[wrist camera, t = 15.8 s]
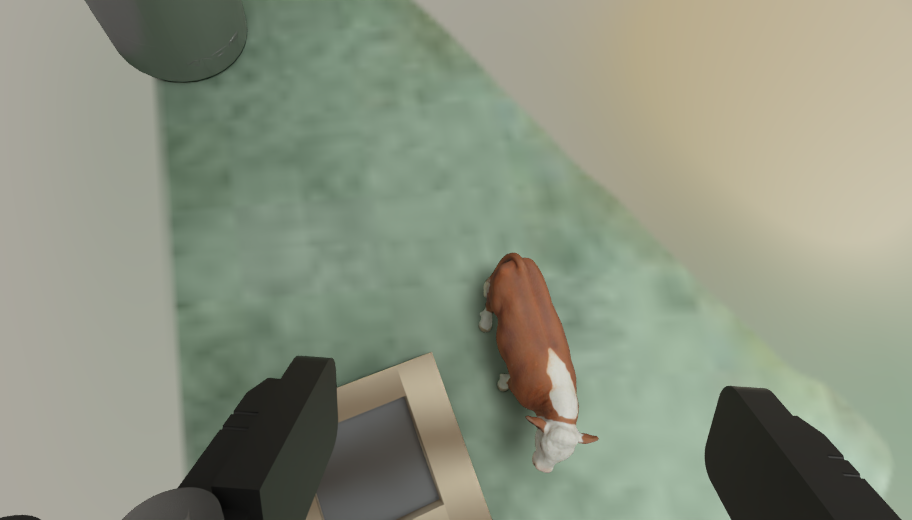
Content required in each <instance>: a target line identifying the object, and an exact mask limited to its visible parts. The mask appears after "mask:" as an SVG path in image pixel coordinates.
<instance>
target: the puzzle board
mask: <svg viewBox="0 0 912 520" xmlns="http://www.w3.org/2000/svg"><path fill="white" fill-rule="evenodd" d="M337 405H338V430H337V437H336V442H335V446H334V449H333V452H332V454H331V457H330V459H329V462H328V464H327V467H326V469H325V472H324V474H323V477H322V479H321V482H320V484H319V487H318V489H317V492H316V494H315V497H314V500H313V502H312V505H311V507H310V510H309V512H308V515H307V517H306V520H492V518H491V515H490V513H489V510H488V507H487V504H486V501H485V499H484V496H483V493H482V490H481V488H480V485H479V482H478V479H477V476H476V474H475V471H474V468H473V465H472V462H471V460H470V457H469V454H468V451H467V449H466V446H465V443H464V440H463V437H462V435H461V432H460V429H459V426H458V423H457V421H456V418H455V415H454V412H453V410H452V407H451V404H450V401H449V398H448V396H447V393H446V390H445V387H444V384H443V382H442V379H441V376H440V373H439V371H438V368H437V365H436V362H435V359H434V357H433V354H432V352H430V353H427V354H425V355H422V356H419V357H417V358H414V359H411V360H409V361H406V362H403V363H401V364H398V365H395V366H393V367H390V368H388V369H385V370H382V371H380V372H377V373H374V374H372V375H369V376H366V377H364V378H361V379H358V380H356V381H353V382H351V383H348V384H345V385H343V386H340V387H337Z"/></svg>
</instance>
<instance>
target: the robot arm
mask: <svg viewBox="0 0 912 520" xmlns="http://www.w3.org/2000/svg"><path fill="white" fill-rule="evenodd" d="M85 1H86V3H87V4H88V6H89V8H90V10H91V11H92V13H93V14H94V16H95V17H96V19H97V20H98V22H99V23H100V25H101V26H102V28H103V29H104V31H105V32H106V34H107V36H108V37H109V39H110V40H111V42H112V43H113V45H114V46H115V48H116V49H117V51H118V52H119V54H120V55H121V56H122V57H123V58H124V59H125V60H126V61H127V62H128V63H129V64H131V65H132V66H133V67H135V68H136V69H138V70H139V71H141V72H143V73H146V74H148V75H150V76H152V77H155V78H159V79H163V80H167V81H179V82H186V81H196V80H201V79H204V78H208V77H211V76H213V75H215V74H217V73H219V72H221V71H223V70H225V69H226V68H227V67H228V66H229V65H231V64H232V63H233V62H234V61H235V60H236V58H237V57H238V56H239V55H240V53H241V52H242V49H243V47H244V45H245V42H246V36H247V23H246V17H245V13H244V9H243V4H242V0H85ZM337 430H338V405H337V385H336V367H335V362H334V359H333V358H324V357H310V356H296V357H295V358H294V359H293V361H292V362H291V364H290V365H289V367H288V368H287V370H286V372H285V373H284V375H283V376H282V378H281V379H275V378H267V379H266V380H264V381H263V382H262V383H260V384H259V385H257V386H256V387H254V388H253V389H251V390H250V391H249V392H247V393H246V395H245V396H244V397H243V399H242V400H241V402H240V403H239V404H238V406H237V407H236V408H235V410H234V414H231V415H230V417H229V418H228V419H227V421H226V422H225V424H224V425H223V429H222V430H219V432H218V433H217V435H216V436H215V437H214V439H213V440H212V441H211V443H210V444H209V446H208V447H207V448H206V450H205V451H204V452H203V454H202V455H201V457H200V458H199V459H198V461H197V462H196V464H195V465H194V466H193V468H192V469H191V470H190V472H189V473H188V475H187V476H186V477H185V479H184V480H183V481H182V483H181V484H180V486H179V487H178V488H177V489H173V490H169V491H166V492H163V493H160V494H158V495H155V496H153V497H151V498H149V499H148V500H146V501H144V502H142V503H141V504H139V505H138V506H136V507H135V508H134V509H133V510H132V511H131V512H129V513H128V514H127V515H126V516H125V517H124V518H123V519H122V520H306V517H307V515H308V512H309V510H310V507H311V505H312V502H313V500H314V497H315V494H316V492H317V489H318V487H319V484H320V482H321V479H322V477H323V474H324V472H325V469H326V467H327V464H328V462H329V459H330V457H331V454H332V452H333V449H334V446H335V442H336V437H337ZM705 465H706V470H707V473H708V476H709V479H710V481H711V483H712V484H713V486H714V488H715V490H716V492H717V494H718V496H719V498H720V499H721V501H722V503H723V505H724V507H725V509H726V511H727V512H728V514H729V516H730V518H731V520H901V519H900V518H899V517H898V515H897V514H896V513H895V512H894V511H893V510H892V509H891V508H890V507H889V505H888V504H887V503H886V502H885V501H884V500H883V499H882V498H881V497H880V496H879V494H878V493H877V492H876V491H875V490H874V489H873V488H872V487H871V486H870V485H869V483H868V482H867V481H866V480H865V479H861V478H860V474H859V472H858V471H857V470H856V469H855V468H854V467H853V466H852V465H851V464H850V462H849V461H848V460H844V456H843V455H842V454H841V453H840V451H839V450H838V449H837V448H836V447H835V446H834V445H833V444H832V443H831V442H830V440H829V439H828V438H827V437H826V436H825V435H824V434H822V433H821V432H820V431H818V430H817V429H815V428H814V427H812V426H811V425H809V424H808V423H807V422H805V421H804V420H802V419H801V418H799V417H798V416H792V414H791V413H790V412H789V411H788V410H787V409H786V408H785V406H784V405H783V404H782V403H781V402H780V401H779V399H778V398H777V397H776V396H775V395H774V394H773V393H772V392H771V391H770V390H768V389H765V388H751V387H736V386H726V387H725V388H723V390H722V391H721V393H720V396H719V399H718V403H717V407H716V410H715V414H714V417H713V421H712V425H711V428H710V432H709V435H708V439H707V443H706V447H705ZM0 520H40V519H39V518H36V517H33V516H28V515H14V516H7V517H2V518H0Z"/></svg>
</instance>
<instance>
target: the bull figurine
mask: <svg viewBox="0 0 912 520" xmlns="http://www.w3.org/2000/svg"><path fill="white" fill-rule="evenodd" d="M483 288H484V292H483V293H484V297H486V298H487V302H486V308H485V309H484V311H482V312H481V313H480V316H481V320H480V322H479V328H480V330H481V331H482V332H490V330H491V328H492V314H493V312H494V314H495V315H496V316H497V318H498V326H497V333H496V340H497V346H498V349H499V352H500V354H501V356H502V358H503V360H504V361H505V363H506V365H507V368H508V372H509V374H503V373H502V374H500V375H499V376H500V380H499V381H498V383H497V387H498V389H499V390H501V391H504V392H505V391H507V390H508V389H510V390H511V392H512V393H513V394H514V396H515V397H516V398H517V400H518V401H519V403H520V404H521V405H522V406H523V407H525V408H527V409H529V410H533V411H534V412H535V413H536V415H537V417H531V416H526V419H527V420H528V421H529V422H530V423H532V424H534V425H535V426H536V427H537V428H538V429H537V431H536V435H535V445H536V451H535V452H534V454H533V457H532V462H533V464H534V465H535V467H536V469H538V470H540V471H542V472H546V473H549V472H551V471H552V470H553V468H554V465H555V464H556V463H558V462H561V461H563V460H565V459H567V458H568V457H569V456H570V455H572V454H573V452H574V450H575V446H576V445H577V443H582V444H588V443H591V442H595V441H597V440H598V437H597V436H592V435H588V434H585V433H580V432H578V430H577V428H576V422H577V418H578V412H579V405H578V399H577V395H576V374H575V370H574V367H573V364H572V361H571V356H570V350H569V346H568V343H567V339H566V336H565V333H564V330H563V327H562V324H561V321H560V319H559V317H558V315H557V313H556V311H555V308H554V306H553V304H552V301H551V297H550V294H549V291H548V288H547V285H546V282H545V280H544V277H543V275H542V273H541V271H540V270H539V268H538V266H537V265H536V264H535V262H534V261H533V260H531V259H529V258H522V257H521V256H520V255H519V254H517V253H509V254H507V255H505V256H504V257H503V258H502V259H501V260H500V262H499V263H498V265H497V267H496V268H495V270H494V272H493V273H492V275H491V276H490V277H489V278H488V279H487V280H486V282H485V283H484V286H483Z"/></svg>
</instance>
